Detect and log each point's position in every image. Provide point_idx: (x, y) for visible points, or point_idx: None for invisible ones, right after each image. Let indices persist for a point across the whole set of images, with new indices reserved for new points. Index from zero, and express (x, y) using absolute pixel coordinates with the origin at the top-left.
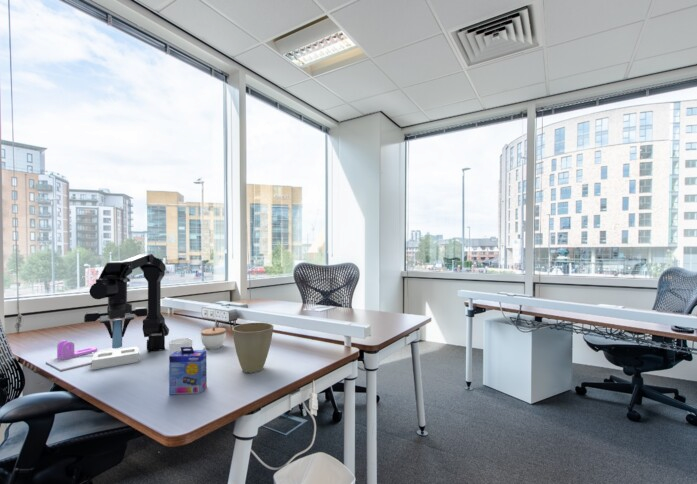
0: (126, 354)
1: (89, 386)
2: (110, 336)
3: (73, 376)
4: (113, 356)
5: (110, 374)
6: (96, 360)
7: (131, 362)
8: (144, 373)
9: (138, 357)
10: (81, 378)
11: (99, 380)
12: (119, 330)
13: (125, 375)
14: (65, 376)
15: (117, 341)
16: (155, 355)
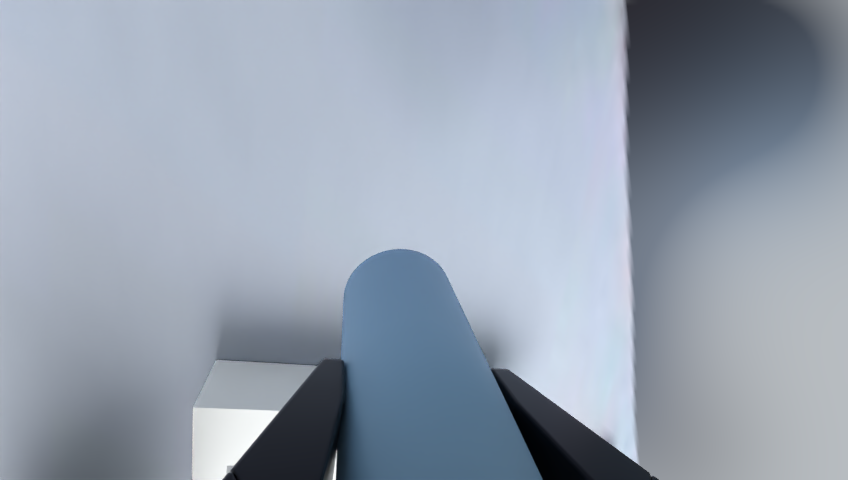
0: None
1: (572, 25)
2: (528, 386)
3: (589, 318)
4: None
5: (421, 199)
6: None
7: (267, 364)
8: (194, 12)
9: (210, 381)
10: (568, 247)
11: (499, 114)
12: (410, 426)
13: (336, 87)
14: (617, 346)
15: (416, 287)
16: (90, 435)
